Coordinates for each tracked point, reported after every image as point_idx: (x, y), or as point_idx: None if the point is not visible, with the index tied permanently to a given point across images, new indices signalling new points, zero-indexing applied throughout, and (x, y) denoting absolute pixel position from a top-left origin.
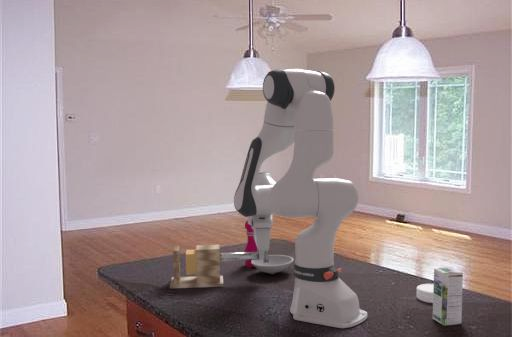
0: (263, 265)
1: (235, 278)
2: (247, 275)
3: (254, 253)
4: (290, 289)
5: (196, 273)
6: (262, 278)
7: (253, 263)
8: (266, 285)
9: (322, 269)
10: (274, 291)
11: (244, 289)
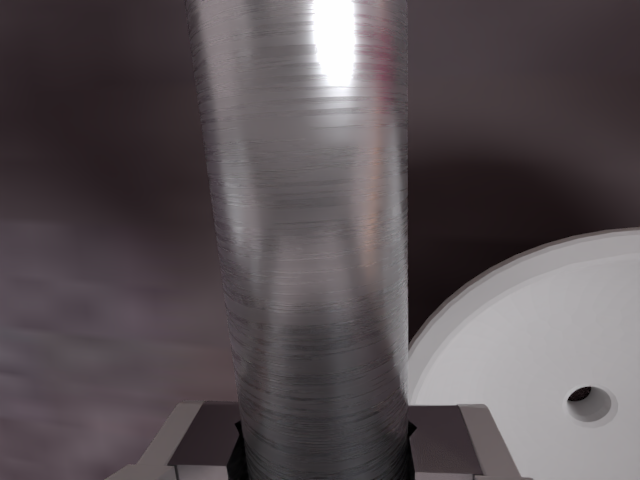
0: (416, 375)
1: (465, 25)
2: (559, 157)
3: (253, 384)
4: (136, 450)
5: None
6: (427, 293)
7: (547, 259)
8: (222, 310)
9: None
10: (83, 351)
11: (107, 128)
